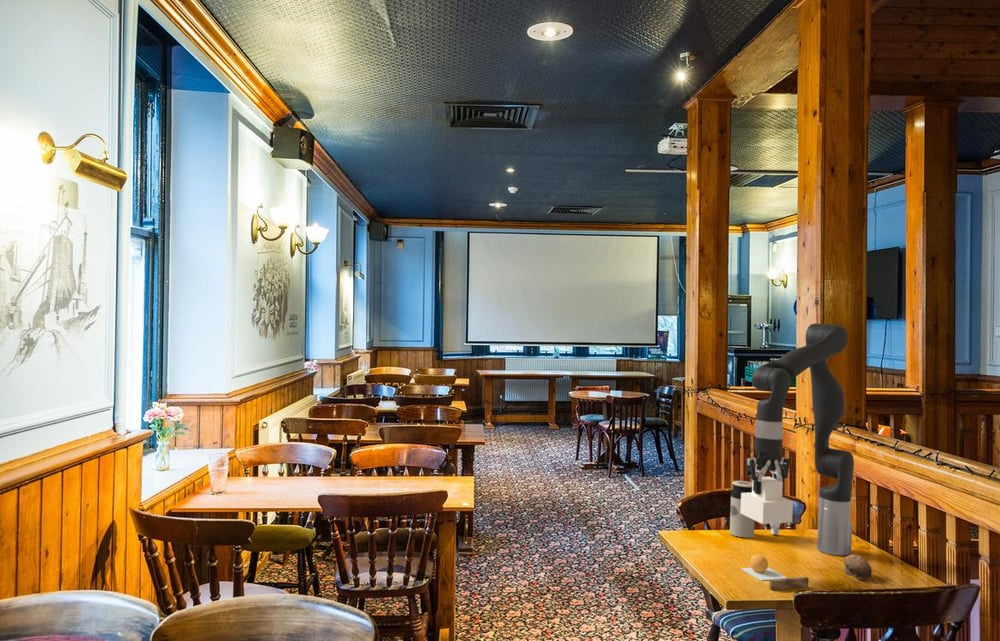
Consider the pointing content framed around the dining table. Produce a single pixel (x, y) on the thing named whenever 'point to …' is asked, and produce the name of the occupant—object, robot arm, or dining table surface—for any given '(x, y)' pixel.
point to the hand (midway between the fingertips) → (766, 493)
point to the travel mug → (738, 521)
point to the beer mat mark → (764, 574)
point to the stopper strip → (789, 583)
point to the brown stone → (857, 567)
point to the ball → (758, 563)
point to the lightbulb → (775, 528)
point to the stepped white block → (767, 503)
